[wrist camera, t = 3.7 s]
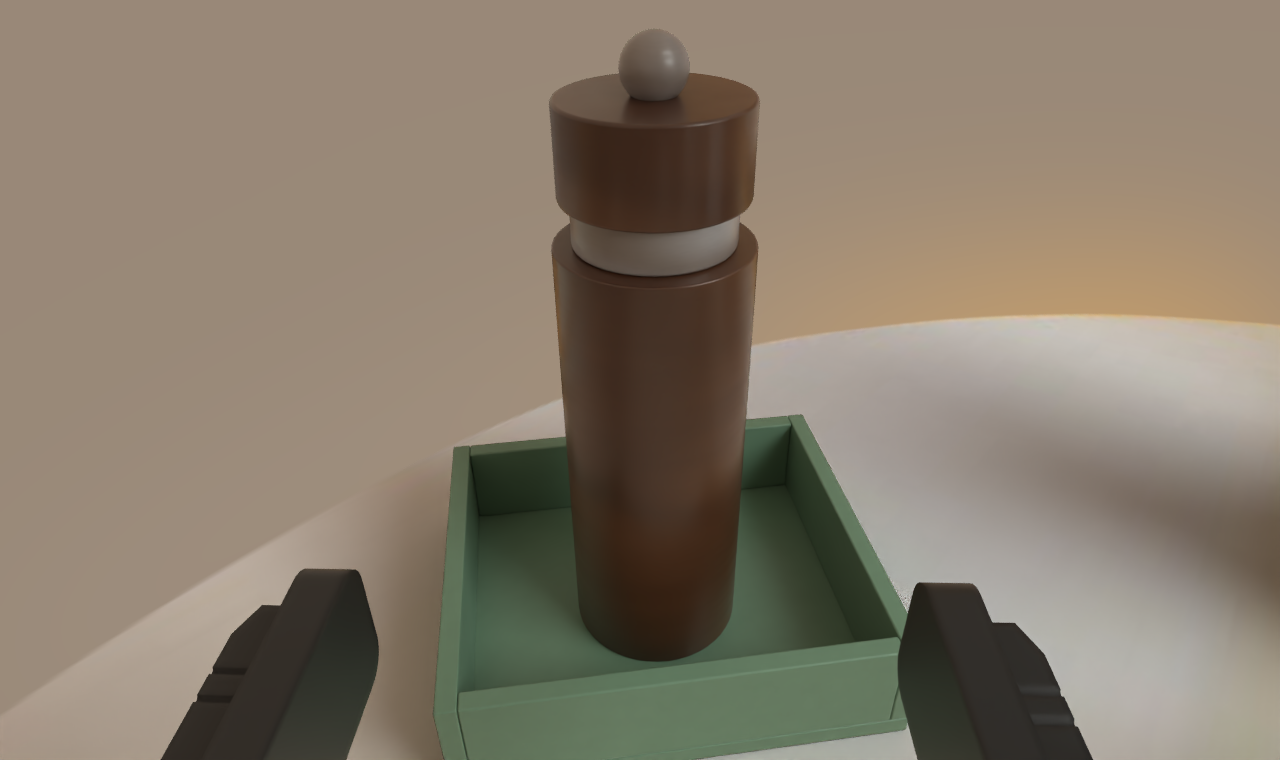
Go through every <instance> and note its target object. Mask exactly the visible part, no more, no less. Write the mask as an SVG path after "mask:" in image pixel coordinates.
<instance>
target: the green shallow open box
mask: <svg viewBox="0 0 1280 760" xmlns="http://www.w3.org/2000/svg"><path fill="white" fill-rule="evenodd" d="M907 615H908V613H907V612H906V610H905V608H904V606H903V604H902V602H901V600H900V598H899V596H898V595H897V593H896V591H895V589H894V587H893V585H892V583H891V581H890V579H889V578H888V576H887V574H886V572H885V570H884V568H883V566H882V564H881V562H880V561H879V559H878V557H877V555H876V553H875V551H874V549H873V547H872V546H871V544H870V542H869V540H868V538H867V536H866V534H865V532H864V530H863V529H862V527H861V525H860V523H859V521H858V519H857V517H856V515H855V513H854V512H853V510H852V508H851V506H850V504H849V502H848V500H847V498H846V496H845V495H844V493H843V491H842V489H841V487H840V485H839V483H838V481H837V479H836V478H835V476H834V474H833V472H832V470H831V468H830V466H829V464H828V462H827V461H826V459H825V457H824V455H823V453H822V451H821V449H820V447H819V445H818V444H817V442H816V440H815V438H814V436H813V434H812V432H811V430H810V428H809V427H808V425H807V423H806V421H805V419H804V417H803V415H791V416H788V417H787V416H780V417H770V418H759V419H749V420H746V428H745V442H744V456H743V470H742V484H741V498H740V512H739V526H738V540H737V554H736V568H735V582H734V596H733V607H732V613H731V617H730V620H729V622H728V624H727V626H726V628H725V629H724V630H723V632H722V633H721V635H720V636H719V637H718V638H717V639H716V640H715V641H714V642H713V643H711V644H710V645H709V646H707V647H706V648H704V649H703V650H701V651H699V652H697V653H695V654H693V655H690V656H688V657H684V658H681V659H677V660H671V661H662V662H650V661H641V660H635V659H631V658H628V657H625V656H622V655H619V654H617V653H615V652H613V651H611V650H609V649H608V648H606V647H605V646H603V645H602V644H601V643H599V642H598V641H597V640H596V639H595V638H594V637H593V636H592V634H591V633H590V632H589V631H588V629H587V628H586V626H585V624H584V622H583V620H582V617H581V615H580V610H579V602H578V589H577V576H576V563H575V550H574V537H573V524H572V511H571V498H570V485H569V472H568V459H567V446H566V437H559V438H548V439H538V440H527V441H516V442H506V443H495V444H485V445H474V446H471V447H470V446H461V447H454V450H453V463H452V476H451V489H450V502H449V514H448V527H447V540H446V553H445V566H444V579H443V592H442V605H441V617H440V630H439V643H438V656H437V669H436V682H435V695H434V707H433V716H434V721H435V725H436V729H437V733H438V737H439V741H440V745H441V749H442V753H443V758H444V760H694V759H701V758H708V757H715V756H723V755H730V754H737V753H744V752H751V751H758V750H765V749H772V748H779V747H787V746H794V745H801V744H808V743H815V742H822V741H829V740H836V739H843V738H851V737H858V736H865V735H872V734H879V733H886V732H893V731H900V730H905V729H906V726H907V723H908V722H907V718H906V714H905V711H904V707H903V703H902V699H901V695H900V690H899V683H898V670H897V664H898V653H899V648H900V644H901V640H902V636H903V631H904V627H905V623H906V619H907Z"/></svg>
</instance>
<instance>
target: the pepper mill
mask: <svg viewBox="0 0 1280 760" xmlns="http://www.w3.org/2000/svg"><path fill="white" fill-rule="evenodd" d="M618 69H619V74H612V75H605V76H599V77H593V78H589V79H584V80H581V81H578V82H574V83H572V84H569V85H566V86H564V87H562V88H560V89H559V90H557V91H556V92H554V93H553V94H552V96H551V98H550V101H549V109H550V123H551V137H552V151H553V165H554V179H555V193H556V200H557V203H558V205H559V206H560V208H561V209H562V210H563V211H564V212H565V213H566V214H567V215H569V216H570V224H568V225H567V226H565V227H564V228H563V229H562V230H561V231H559V232H558V234H557V235H556V237H555V238H554V240H553V243H552V264H553V276H554V288H555V289H554V290H555V302H556V316H557V328H558V340H559V355H560V368H561V381H562V394H563V407H564V420H565V433H566V446H567V459H568V472H569V485H570V498H571V511H572V524H573V537H574V550H575V563H576V576H577V589H578V602H579V610H580V615H581V617H582V620H583V622H584V624H585V626H586V628H587V629H588V631H589V632H590V633H591V634H592V636H593V637H594V638H595V639H596V640H597V641H598V642H599V643H601V644H602V645H603V646H605V647H606V648H608V649H609V650H611V651H613V652H615V653H617V654H619V655H622V656H625V657H628V658H631V659H635V660H641V661H650V662H662V661H671V660H677V659H681V658H684V657H688V656H690V655H693V654H695V653H697V652H699V651H701V650H703V649H704V648H706V647H707V646H709V645H710V644H711V643H713V642H714V641H715V640H716V639H717V638H718V637H719V636H720V635H721V633H722V632H723V630H724V629H725V628H726V626H727V624H728V622H729V620H730V617H731V613H732V607H733V596H734V582H735V568H736V554H737V540H738V526H739V512H740V498H741V484H742V470H743V456H744V442H745V428H746V413H747V399H748V385H749V371H750V357H751V342H752V329H753V315H754V301H755V287H756V273H757V259H758V243H757V240H756V238H755V236H754V234H753V233H752V232H751V231H750V230H749V229H748V228H747V227H746V226H744V225H743V224H741V223H740V214H741V213H743V212H745V210H746V209H747V208H748V207H749V206H750V204H751V202H752V200H753V196H754V182H755V167H756V151H757V137H758V122H759V121H758V120H759V107H760V101H759V96H758V94H757V93H756V92H755V91H754V90H753V89H752V88H750V87H748V86H746V85H744V84H741V83H739V82H736V81H733V80H729V79H725V78H721V77H716V76H710V75H703V74H695V73H689V71H690V62H689V57H688V54H687V51H686V49H685V47H684V45H683V44H682V43H681V41H680V40H679V39H678V38H677V37H676V36H674V35H673V34H671V33H669V32H667V31H664V30H660V29H648V30H645V31H642V32H640V33H637V34H636V35H635V36H633V37H632V38H631V39H630V40H629V41H628V42H627V43H626V45H625V46H624V48H623V50H622V52H621V55H620V58H619V68H618Z"/></svg>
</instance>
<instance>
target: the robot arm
mask: <svg viewBox="0 0 1280 760" xmlns="http://www.w3.org/2000/svg"><path fill="white" fill-rule="evenodd" d="M378 656H379V646H378V638H377V634H376V630H375V626H374V623H373V619H372V615H371V611H370V608H369V604H368V600H367V596H366V593H365V589H364V585H363V582H362V578H361V575H360V574H359V572H358V571H357V570H350V569H303V570H301V571H300V572H299V573H298V574H297V576H296V577H295V579H294V581H293V583H292V584H291V586H290V588H289V590H288V592H287V594H286V596H285V598H284V600H283V602H282V604H281V606H274V605H262V606H261V607H260V608H259V609H258V610H256V611H255V612H254V613H253V614H252V615H251V616H250V617H249V618H248V619H247V620H246V621H245V622H244V623H243V624H242V625H241V626H239V627H238V628H237V629H236V630H235V631H234V632H233V633H232V634H231V636H230V637H229V639H228V641H227V643H226V645H225V646H224V648H223V650H222V652H221V653H220V655H219V657H218V659H217V661H216V662H215V664H214V666H213V672H212V674H209V675H208V677H207V678H206V680H205V682H204V684H203V685H202V687H201V689H200V691H199V693H198V694H197V701H196V702H193V703H192V705H191V707H190V709H189V710H188V712H187V714H186V716H185V717H184V719H183V721H182V723H181V725H180V726H179V728H178V730H177V732H176V733H175V735H174V737H173V739H172V741H171V742H170V744H169V746H168V748H167V749H166V751H165V753H164V755H163V757H162V758H161V760H346V759H347V756H348V753H349V750H350V747H351V745H352V742H353V739H354V736H355V734H356V731H357V728H358V725H359V722H360V720H361V717H362V714H363V711H364V708H365V706H366V703H367V700H368V697H369V694H370V692H371V689H372V686H373V683H374V680H375V676H376V672H377V666H378ZM897 670H898V683H899V690H900V695H901V699H902V703H903V707H904V711H905V714H906V718H907V722H908V726H909V729H910V733H911V737H912V740H913V744H914V748H915V752H916V755H917V759H918V760H1093V759H1092V757H1091V754H1090V752H1089V750H1088V748H1087V746H1086V744H1085V741H1084V739H1083V737H1082V735H1081V733H1080V731H1079V728H1078V727H1075V725H1074V718H1073V715H1072V713H1071V711H1070V709H1069V707H1068V705H1067V702H1066V700H1065V698H1064V697H1062V696H1061V694H1060V690H1061V689H1060V687H1059V685H1058V683H1057V681H1056V679H1055V676H1054V674H1053V672H1052V670H1051V668H1050V666H1049V663H1048V661H1047V659H1046V657H1045V655H1044V653H1043V652H1042V651H1041V650H1040V649H1039V648H1038V647H1037V646H1036V645H1035V644H1034V643H1033V642H1032V641H1031V640H1030V639H1029V638H1028V636H1027V635H1026V634H1025V633H1024V632H1023V631H1022V630H1021V629H1020V628H1019V627H1018V626H1017V625H1016V624H1015V623H992V621H991V619H990V616H989V614H988V611H987V609H986V607H985V604H984V602H983V599H982V597H981V595H980V593H979V591H978V589H977V588H976V586H975V585H973V584H970V583H922V582H919V583H917V584H916V586H915V588H914V591H913V595H912V599H911V603H910V607H909V611H908V615H907V619H906V623H905V627H904V631H903V636H902V640H901V644H900V648H899V653H898V664H897Z"/></svg>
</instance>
